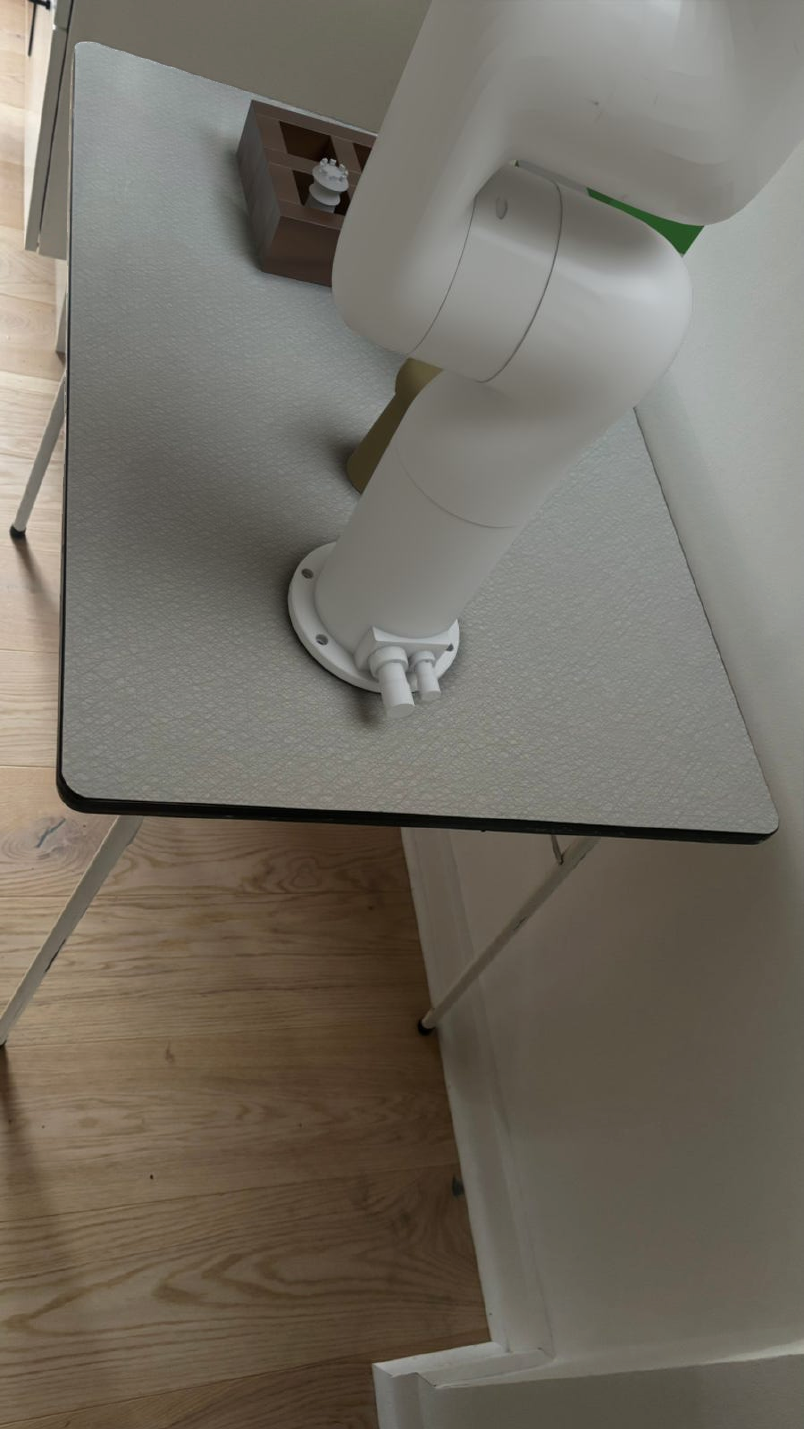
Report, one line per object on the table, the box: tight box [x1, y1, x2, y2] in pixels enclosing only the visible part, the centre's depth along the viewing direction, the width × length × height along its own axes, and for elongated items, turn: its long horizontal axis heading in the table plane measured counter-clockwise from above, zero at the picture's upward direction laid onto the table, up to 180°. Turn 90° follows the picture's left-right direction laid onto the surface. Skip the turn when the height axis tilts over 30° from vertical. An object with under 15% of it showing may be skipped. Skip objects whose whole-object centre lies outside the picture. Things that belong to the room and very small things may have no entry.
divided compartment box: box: [235, 98, 378, 288], centre depth 93 cm, size 17×17×6 cm
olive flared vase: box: [346, 357, 444, 495], centre depth 75 cm, size 6×6×11 cm
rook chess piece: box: [304, 158, 348, 213], centre depth 88 cm, size 4×4×8 cm
